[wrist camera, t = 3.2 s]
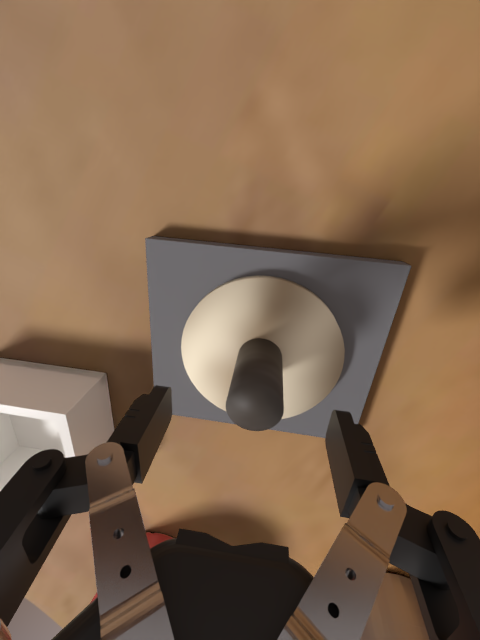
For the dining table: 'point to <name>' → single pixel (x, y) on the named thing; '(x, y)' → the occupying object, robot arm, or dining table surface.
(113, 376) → the dining table surface
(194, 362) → the lid
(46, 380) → the dish
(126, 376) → the dining table surface
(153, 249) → the mat
